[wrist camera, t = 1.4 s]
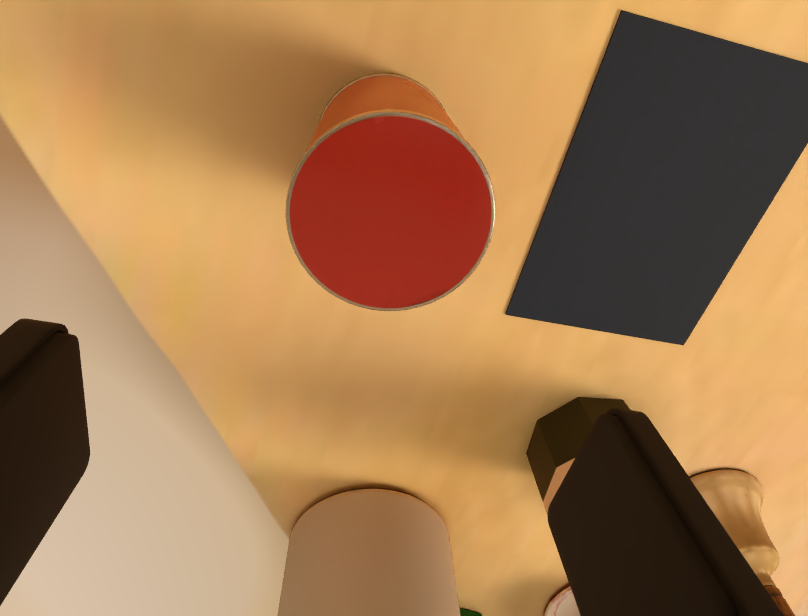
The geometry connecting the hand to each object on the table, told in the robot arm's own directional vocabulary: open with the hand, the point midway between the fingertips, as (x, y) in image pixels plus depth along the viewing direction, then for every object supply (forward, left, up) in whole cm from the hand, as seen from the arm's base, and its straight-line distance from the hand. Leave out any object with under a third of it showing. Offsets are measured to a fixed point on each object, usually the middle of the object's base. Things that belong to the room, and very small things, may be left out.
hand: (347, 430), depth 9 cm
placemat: (-1, +16, -18) cm, 24 cm away
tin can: (-1, +1, -18) cm, 18 cm away
